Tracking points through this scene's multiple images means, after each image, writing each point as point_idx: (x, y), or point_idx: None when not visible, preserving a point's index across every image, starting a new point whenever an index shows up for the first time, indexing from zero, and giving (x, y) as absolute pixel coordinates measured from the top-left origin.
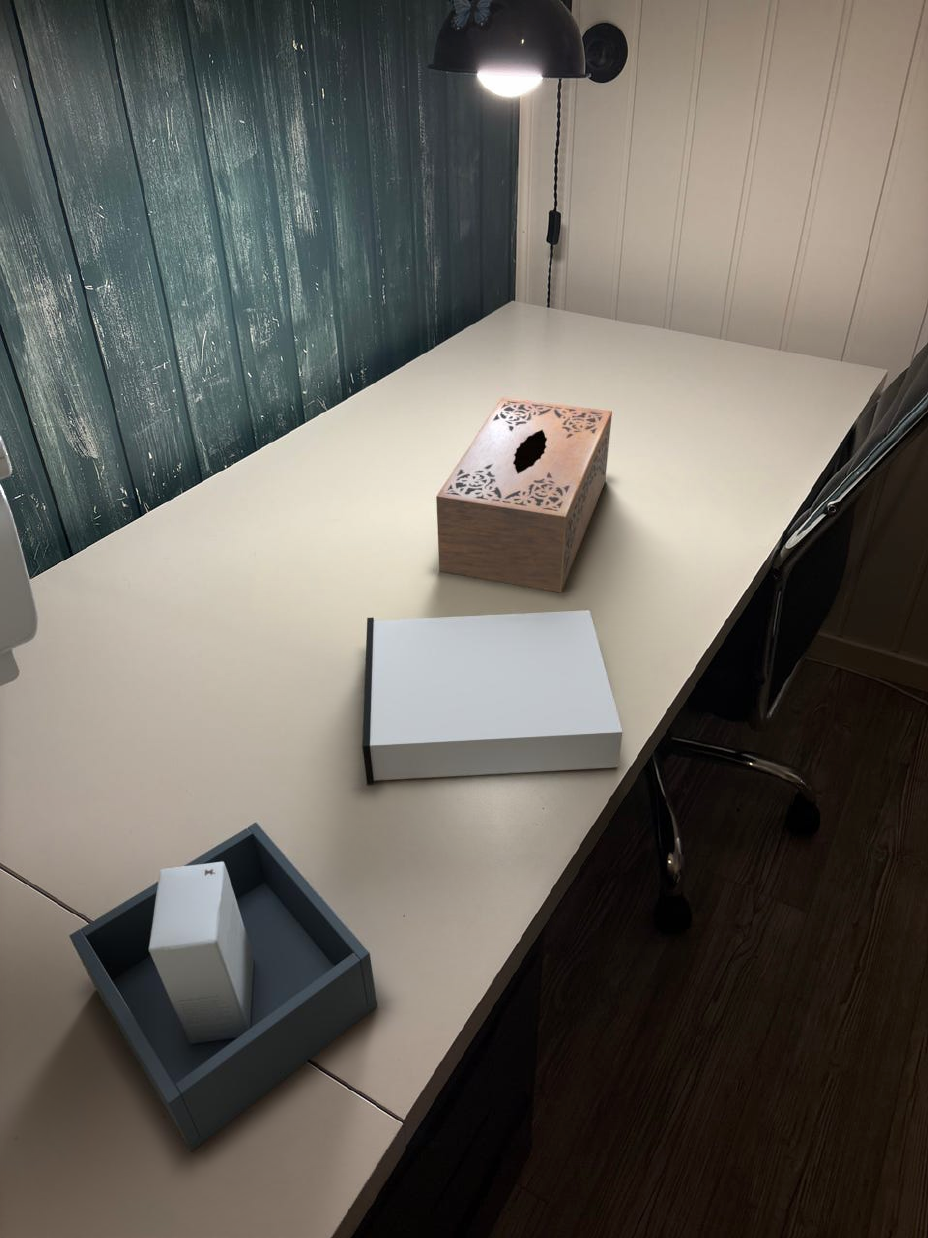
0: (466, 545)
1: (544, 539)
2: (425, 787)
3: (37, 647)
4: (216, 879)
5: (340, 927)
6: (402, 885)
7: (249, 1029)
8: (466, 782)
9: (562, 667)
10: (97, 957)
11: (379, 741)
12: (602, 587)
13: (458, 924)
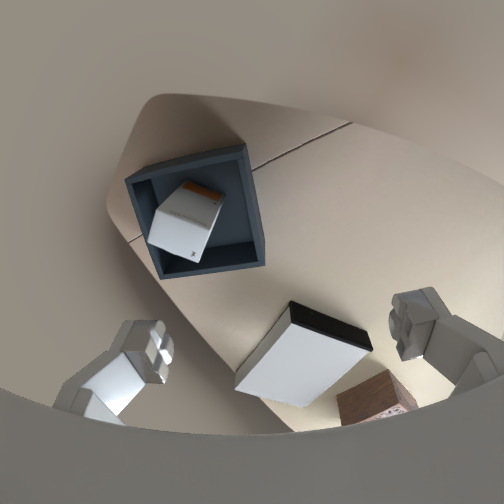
0: (379, 389)
1: (348, 414)
2: (272, 319)
3: (489, 193)
4: (186, 255)
5: (178, 275)
6: (225, 289)
7: (143, 221)
8: (264, 332)
9: (281, 391)
10: (218, 162)
11: (291, 326)
12: (326, 404)
13: (195, 297)
